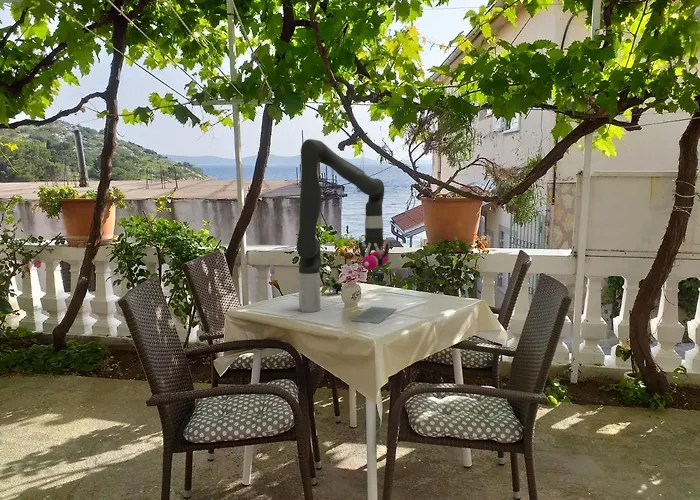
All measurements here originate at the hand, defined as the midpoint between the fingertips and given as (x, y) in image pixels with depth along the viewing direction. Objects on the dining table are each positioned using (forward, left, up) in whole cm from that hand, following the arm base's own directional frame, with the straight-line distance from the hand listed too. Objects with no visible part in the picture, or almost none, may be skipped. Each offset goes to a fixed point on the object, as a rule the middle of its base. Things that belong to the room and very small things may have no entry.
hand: (374, 266), depth 217 cm
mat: (0, 0, -21) cm, 21 cm away
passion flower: (-6, +45, -22) cm, 51 cm away
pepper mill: (+7, +8, +3) cm, 11 cm away
